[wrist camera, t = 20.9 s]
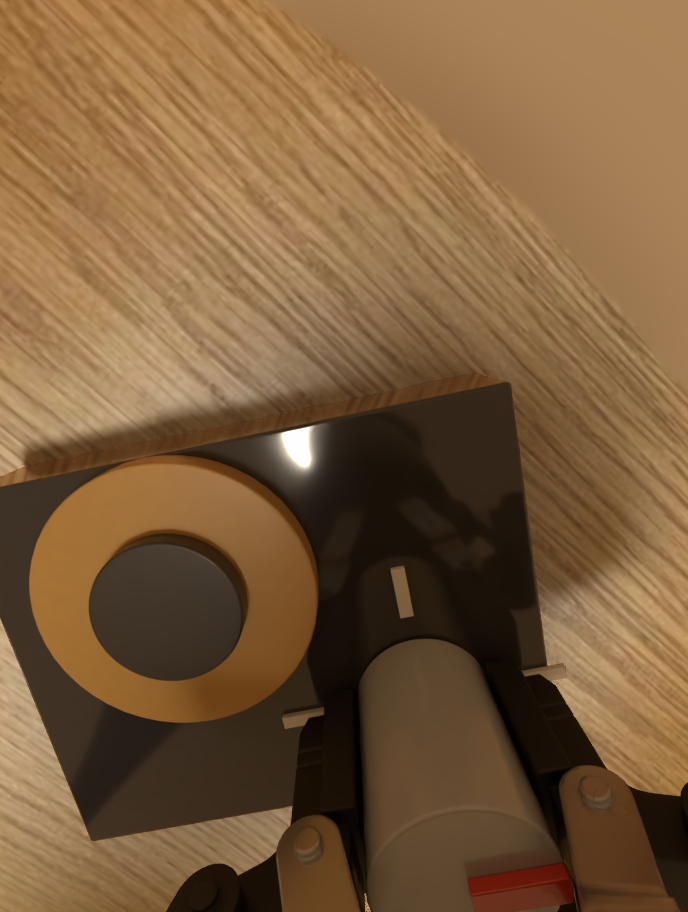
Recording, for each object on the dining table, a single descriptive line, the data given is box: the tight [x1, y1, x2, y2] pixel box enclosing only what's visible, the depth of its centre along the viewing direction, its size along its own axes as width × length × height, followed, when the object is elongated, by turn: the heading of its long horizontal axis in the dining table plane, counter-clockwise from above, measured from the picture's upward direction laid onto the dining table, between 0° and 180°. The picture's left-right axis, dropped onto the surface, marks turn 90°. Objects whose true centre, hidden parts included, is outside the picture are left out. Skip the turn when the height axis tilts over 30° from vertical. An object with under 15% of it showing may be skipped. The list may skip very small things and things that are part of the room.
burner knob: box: [357, 639, 574, 912], centre depth 11 cm, size 4×4×5 cm
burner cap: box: [29, 455, 319, 723], centre depth 12 cm, size 7×7×1 cm
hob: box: [0, 373, 567, 841], centre depth 15 cm, size 14×12×3 cm
